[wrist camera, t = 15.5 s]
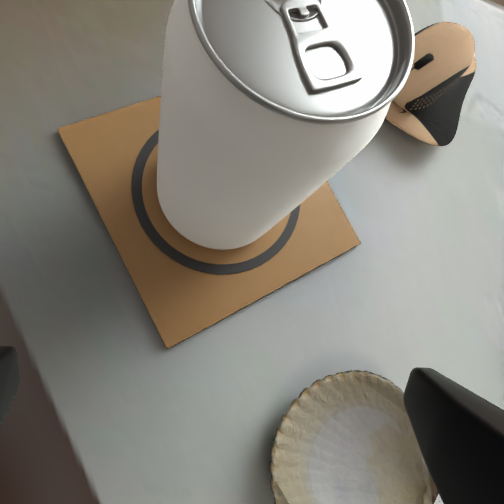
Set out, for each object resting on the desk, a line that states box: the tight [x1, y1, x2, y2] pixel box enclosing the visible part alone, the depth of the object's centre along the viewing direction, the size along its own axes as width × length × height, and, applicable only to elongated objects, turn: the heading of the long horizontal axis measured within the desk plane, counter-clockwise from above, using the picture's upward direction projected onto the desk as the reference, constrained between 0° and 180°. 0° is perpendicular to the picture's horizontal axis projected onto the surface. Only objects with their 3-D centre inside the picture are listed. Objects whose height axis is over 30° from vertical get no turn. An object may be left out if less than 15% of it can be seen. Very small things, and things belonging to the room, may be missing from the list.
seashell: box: [269, 370, 439, 504], centre depth 18 cm, size 8×3×8 cm
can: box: [157, 0, 415, 250], centre depth 15 cm, size 6×6×12 cm
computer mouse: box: [385, 22, 476, 146], centre depth 24 cm, size 6×10×4 cm, turn 126°
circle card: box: [57, 96, 360, 349], centre depth 20 cm, size 12×12×1 cm
